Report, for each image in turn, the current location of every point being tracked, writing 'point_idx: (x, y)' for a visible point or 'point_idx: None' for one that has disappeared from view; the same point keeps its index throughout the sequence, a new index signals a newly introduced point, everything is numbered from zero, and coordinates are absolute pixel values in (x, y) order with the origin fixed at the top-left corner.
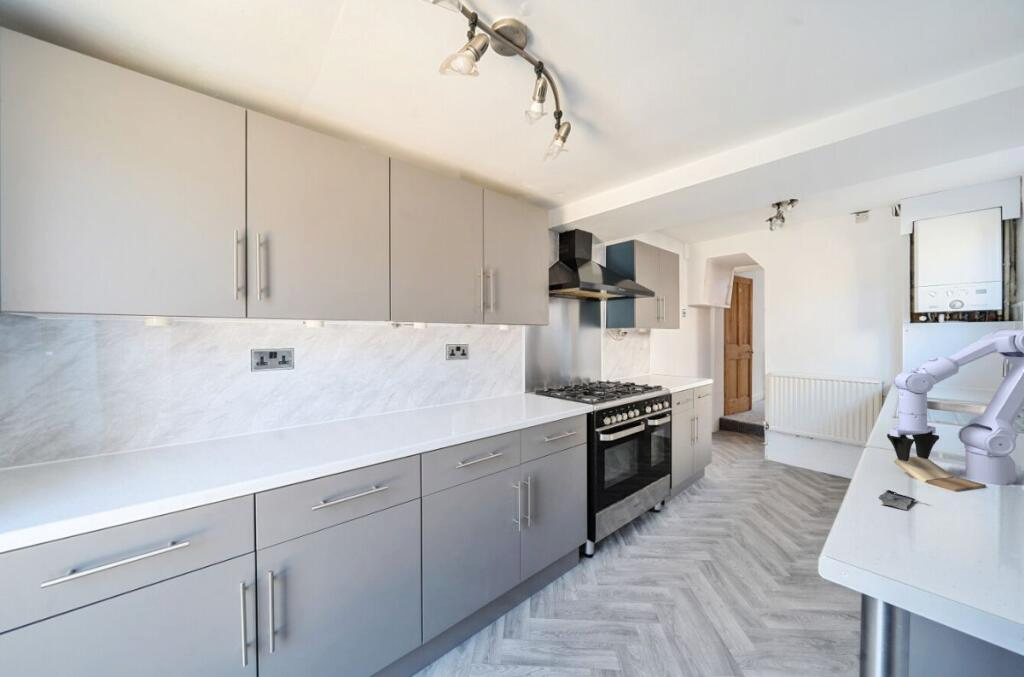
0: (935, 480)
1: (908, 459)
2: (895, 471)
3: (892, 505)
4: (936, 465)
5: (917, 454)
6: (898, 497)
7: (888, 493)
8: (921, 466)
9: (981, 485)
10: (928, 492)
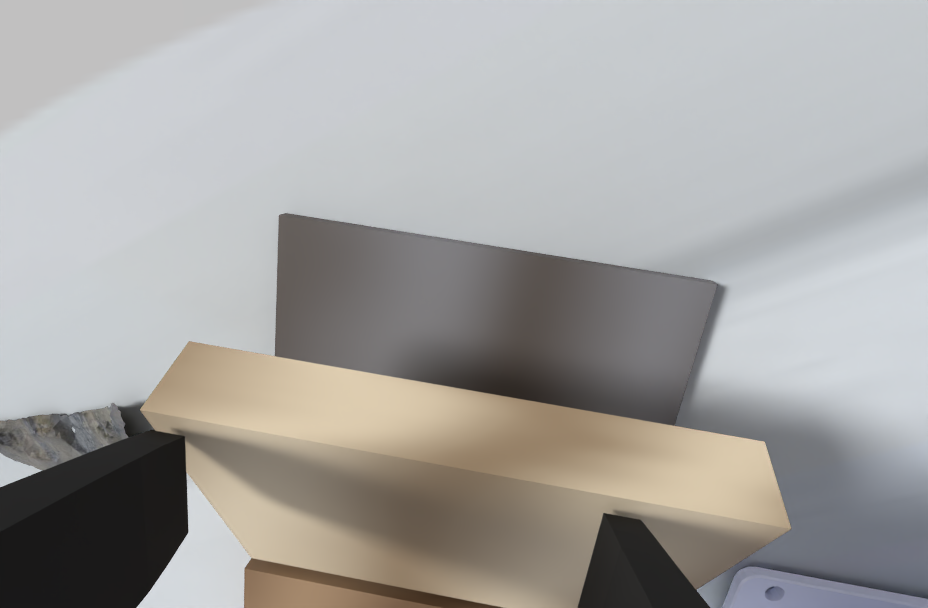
0: (322, 593)
1: (158, 564)
2: (514, 201)
3: None
4: None
5: (611, 543)
6: None
7: None
8: (413, 536)
9: None
10: (176, 553)
